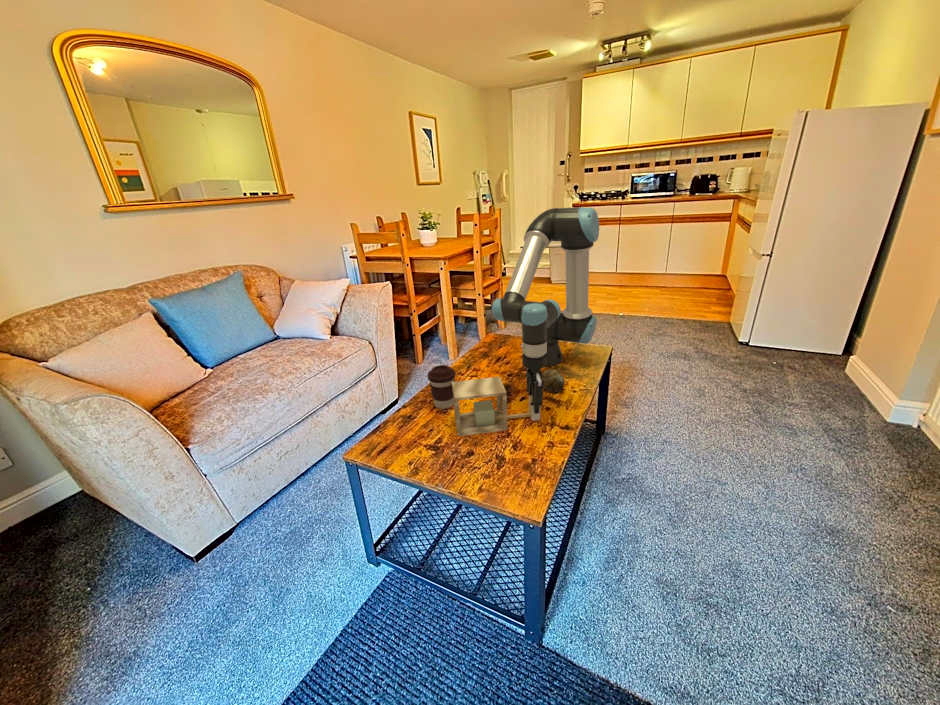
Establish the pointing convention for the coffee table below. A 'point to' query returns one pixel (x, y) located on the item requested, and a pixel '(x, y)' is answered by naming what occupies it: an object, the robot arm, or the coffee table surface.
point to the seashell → (552, 380)
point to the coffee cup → (442, 385)
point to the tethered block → (486, 413)
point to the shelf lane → (470, 420)
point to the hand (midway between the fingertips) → (534, 417)
